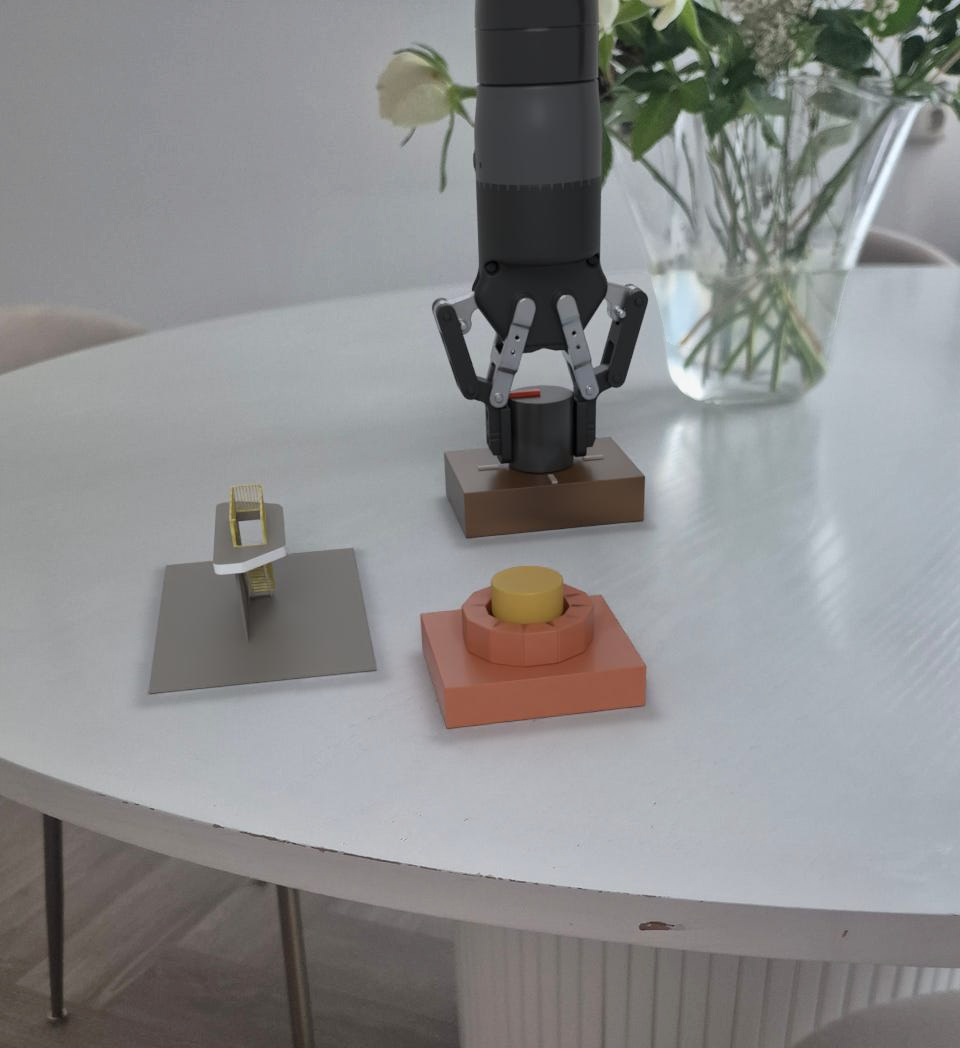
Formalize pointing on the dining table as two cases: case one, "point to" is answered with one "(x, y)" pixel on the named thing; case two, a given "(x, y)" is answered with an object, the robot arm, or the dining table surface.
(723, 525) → the dining table surface
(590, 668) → the button box
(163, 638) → the platform
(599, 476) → the control panel
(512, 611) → the button
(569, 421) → the dial knob
